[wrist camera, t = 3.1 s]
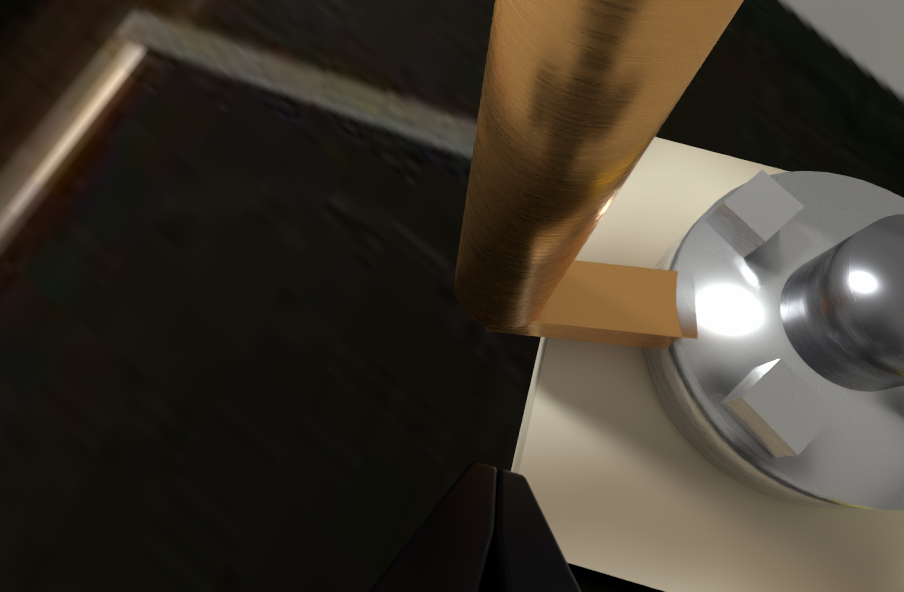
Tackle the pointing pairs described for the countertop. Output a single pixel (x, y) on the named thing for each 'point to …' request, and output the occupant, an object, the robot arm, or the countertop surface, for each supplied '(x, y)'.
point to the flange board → (673, 440)
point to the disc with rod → (688, 255)
